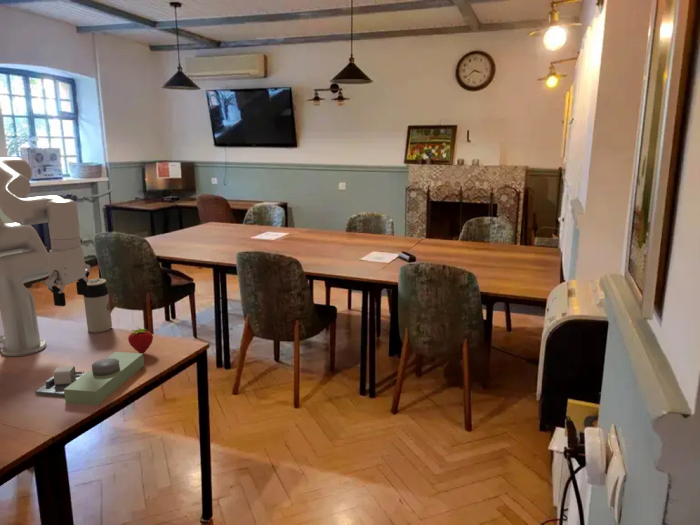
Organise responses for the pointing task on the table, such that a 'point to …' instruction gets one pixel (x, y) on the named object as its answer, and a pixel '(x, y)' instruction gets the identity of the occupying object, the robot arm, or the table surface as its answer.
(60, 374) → the usb wall charger
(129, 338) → the strawberry
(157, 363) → the table surface
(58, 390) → the grey plate with ledge
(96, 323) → the travel mug
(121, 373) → the green slab with knob
